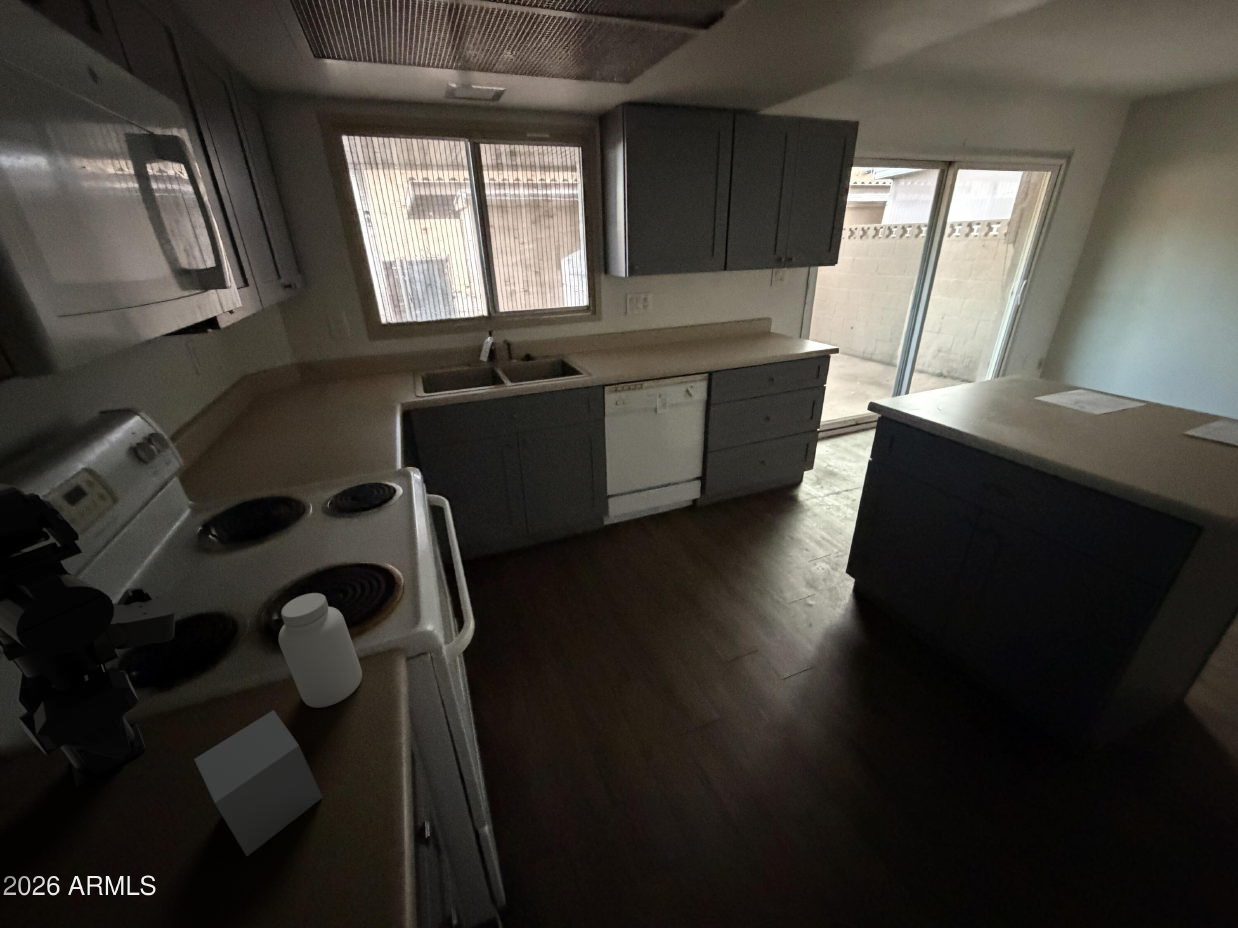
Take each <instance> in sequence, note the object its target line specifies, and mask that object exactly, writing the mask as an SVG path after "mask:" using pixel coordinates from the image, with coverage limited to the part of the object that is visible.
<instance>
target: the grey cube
mask: <svg viewBox="0 0 1238 928" xmlns="http://www.w3.org/2000/svg"><path fill="white" fill-rule="evenodd" d="M193 760H194V761H195V764H196V766H197V769H198V770H199V773H200V774H201V776H202V779H203V781H204V784H205V786H206V787H207V790H208V792H209V793H210V795H211V796H210V797H211V798H212V800H213V802H214V804H215V806H216V807H217V809H218V811H219V812H220V814H221V816H222V818H223V819H224V821H225V823H226V825H227V826H228V828H229V830H230V831H231V832H232V835H233V836H234V838H235V839H236V842H237V843H238V844H239V846H240V847H241V849H242V852H243V853H244V855H245V856H246V857H249V855H251V854H253V852H255V851H256V850H257V849H259V848H260V847H261V846H262V845H264V844H265V843H266V842H267V841H269V840H270V839H272V837H274V836H275V835H277V834H278V833H279V832H280V831H282V830H283V829H284V828H286V827H287V826H288V825H289V824H291V823H292V822H293V821H295V820H296V819H298V817H300V816H301V815H302V814H304V813H305V812H307V811H308V810H309V809H310V808H312V807H313V806H314V805H315V804H316V803H318V802H319V801H320V800H322V799H323V797H324V796H323V795H322V792H321V790H320V789H319V786H318V784H317V782H316V779H315V778H314V777H315V776H314V775H313V773H312V770H311V768H310V766H309V764H308V762H307V760H306V758H305V755H304V753H303V751H302V748H301V746H300V745H299V743H298V742H297V740H296V739H295V738H294V736H293V734H292V733H291V732H290V730H289V729H288V728H287V727H286V725H285V724H284V722H283V721H282V720H281V718H280V717H279V716H278V714H277V712H276V711H275V710H274V709H273V710H271V711H270V712H268V713H266V714H265V715H264V716H261V717H260V718H258V719H257V720H255V721H253V722H252V723H250V724H249V725H247V726H245V727H244V728H242V729H240V730H239V731H238V732H235V733H234V734H233V735H231V736H229V737H228V738H226V739H224V740H223V741H221V742H219V743H218V744H217V745H215V746H213V747H211V748H209V749H208V750H207V751H205V752H204V753H202V754H200V755H198V756H196V757H195V758H194V759H193Z"/></svg>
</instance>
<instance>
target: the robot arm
mask: <svg viewBox="0 0 1238 928" xmlns="http://www.w3.org/2000/svg"><path fill="white" fill-rule="evenodd" d="M50 535H51V536H50ZM51 537H52V538H53V539H54V540H55V541H53V542H49V543H47V544H43V545H42V546H39V547H36V548H34V549H31V550H28V551H27V550H26V551H25V549H28V548H29V549H30V548H31V547H34V546H37V545H39V544H42V543H45V542H47V541H50V539H51ZM79 540H80V538H79V534H78V532H77V531H76V530H75V528H74V527H73V526H72V525H71V524H70V523H69V521H67V519H66V518H65V517H64V516H63V515H62V514H61V512H60V511H58V509H57V508H56V507H55V506H54V504H52V503H51V501H49V500H46V499H42V498H41V496H40V495H39V494H37V493H34V492H30V493H25V492H24V490H22V489H20V488H19V487H17V486H14V485H10V484H6V483H0V651H1V652H2V653H3V655H4V656H5V658H6V659H7V661H8V662H10V664H12V666H13V667H14V668H15V669H16V671H17V672H18V674H19V681H18V688H17V694H16V704H17V705H18V707H19V708H20V709H21V710H22V711H23V714H20V715H19V716H17V720H18V722H19V724H20V726H21V727H22V729H23V730H24V732H25V734H27V736H28V737H29V738H30V739H31V741H32V742H33V743H34V744H35V745H36V746H37V747H38V748H39V749H40V750H41V751H42V752H43V754H45V755H46V756H48V757H49V756H50V755H52V754H53V753H54V752H55V751H56V750H59V748H60V749H61V750H62V752H63V753H64V754H65V755H66V757H67V758H68V759H69V760H70V766H71V771H72V775H73V780H74V784H75V785H74V786H76V787H77V788H81V787H83V786H85V785H87V784H88V783H90V782H92V781H93V780H95V779H97V778H98V777H100V776H102V775H104V774H106V773H107V772H109V771H111V770H113V769H115V768H116V767H117V766H120V765H122V764H123V763H125V762H126V761H129V760H130V759H132V758H134V757H135V756H137V755H139V754H141V753H142V752H144V751H145V749H146V747H147V746H146V745H145V742H144V740H143V737H142V734H141V732H140V729H139V726H138V724H137V723H136V722H131V723H128V721H127V719H126V718H125V714H127V713H128V712H129V711H131V710H132V709H134V708H135V707H136V706H137V705H138V704H139V702H140V700H139V698H138V696H137V693H136V690H135V688H134V687H133V684H132V682H131V680H130V678H129V674H128V672H127V671H126V670H119V669H118V668H116V667H114V666H113V665H109V666H106V664H108V663H110V662H112V661H115V660H117V659H119V658H120V657H119V654H118V652H117V650H127V649H131V648H135V647H140V646H145V645H149V644H154V643H157V644H162V643H166V642H169V641H171V640H173V639H174V638H175V630H176V629H175V627H176V625H175V623H176V609H175V607H174V605H173V604H172V603H171V601H170V600H169V599H167V598H163V597H162V595H157V596H156V598H154V597H153V596H152V595H151V594H150V592H149V591H148V590H147V589H146V587H145V586H138V587H131V588H127V589H125V591H124V593H123V594H122V596H121V597H120V598H119V599H118V600H117V602H113V600H112V598H110V596H109V595H107V593H105V592H103V591H102V590H100V589H99V588H97V587H96V586H93V585H92V584H90V583H88V582H86V581H85V580H82V579H80V577H77V576H76V575H73V574H72V573H70V572H69V571H68V570H67V569H66V568H65V566H64V565H63V563H62V561H64V560H68V559H70V558H72V557H75V556H77V555H80V554H82V553H83V552H82V549H81V548H80V546H79V545H78V544H77V543H76V542H77V541H79Z"/></svg>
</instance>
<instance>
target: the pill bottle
mask: <svg viewBox="0 0 1238 928" xmlns="http://www.w3.org/2000/svg"><path fill="white" fill-rule="evenodd" d="M280 613H281V618H282V621H283V624H284V625H282V627H281V628H280V631H279V634H278V645H279V647H280V650H281V652H282V655H283V656H284V659H285V661H286V663H287V666H288V669H289V671H290V673H291V676H292V679H293V681H294V683H295V685H296V688H297V690H298V693H299V694H300V697H301V699H302V701H303V703H304V704H305V705H307V706H309V707H310V708H319V709H320V708H326V707H329V706H333V705H336V704H337V703H340V702H342V701H343V700H345V699H346V698H348V697H349V696H351V694H353V693H354V692H355V691H356V690H357V688H358V687H359V685H360V684H361V682H362V678H363V671H362V668H361V664H360V662H359V661H360V660H359V659H358V656H357V655H358V654H357V652H356V650H355V647H354V644H353V641H352V638H351V636H350V633H349V629H348V626H347V624H346V621H345V618H344V615H343V614H342V612H340V610H339V609H338V608H335V607H333V606H329V604H328V600H327V598H326V596H325V595H324V594H322V593H319V592H312V593H311V592H310V593H306V594H303V595H299V596H297V597H295V598H294V599H292V600H290V601H289V602H287V603H286V604H285V605H284V606H283V607H282V609H281V612H280Z"/></svg>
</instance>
